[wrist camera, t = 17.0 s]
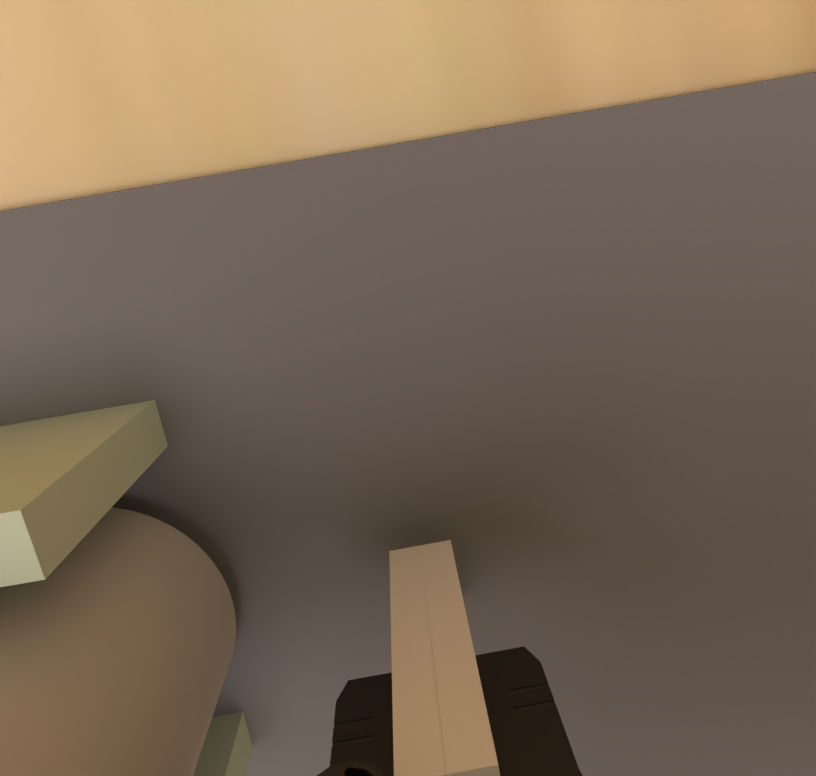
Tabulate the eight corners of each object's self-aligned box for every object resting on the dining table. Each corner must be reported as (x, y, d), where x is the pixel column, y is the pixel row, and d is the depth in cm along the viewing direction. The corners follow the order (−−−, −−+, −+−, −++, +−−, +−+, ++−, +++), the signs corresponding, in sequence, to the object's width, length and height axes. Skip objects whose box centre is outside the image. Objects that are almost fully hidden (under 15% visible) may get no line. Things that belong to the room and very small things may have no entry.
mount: (839, 760, 20) (1054, 1015, 14) (-43, 911, 20) (-240, 1235, 14) (853, 68, 15) (1212, -44, 8) (-345, 273, 15) (-894, 316, 8)
